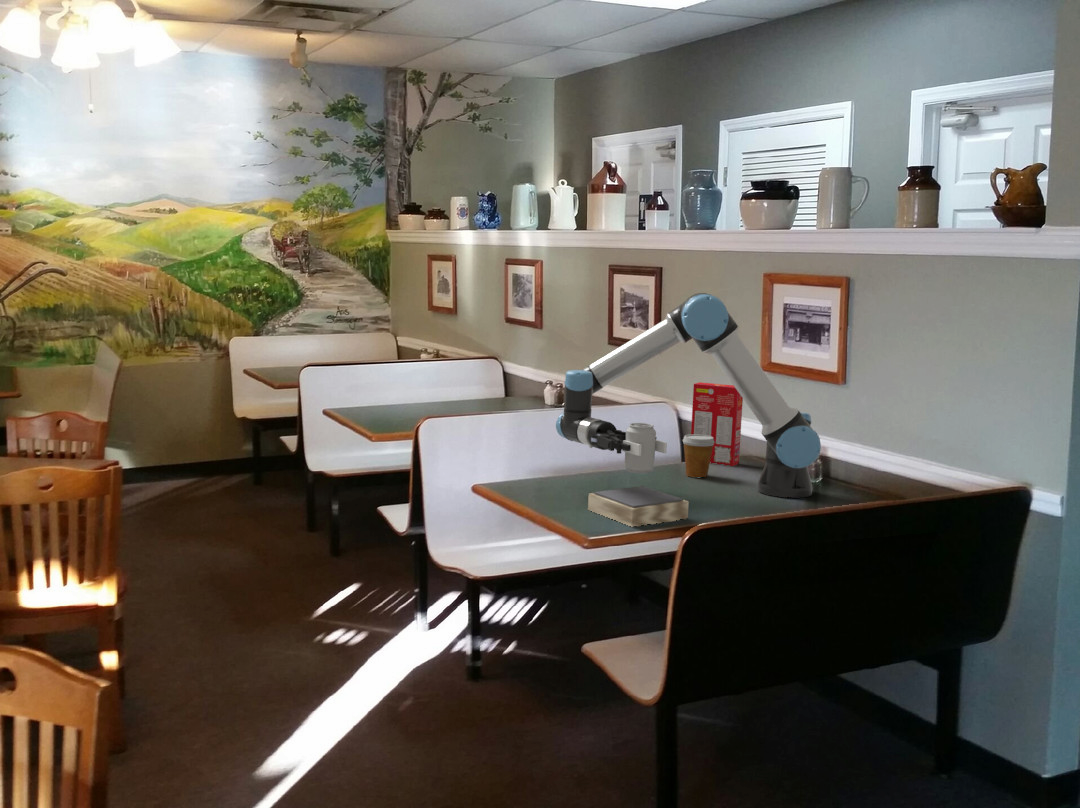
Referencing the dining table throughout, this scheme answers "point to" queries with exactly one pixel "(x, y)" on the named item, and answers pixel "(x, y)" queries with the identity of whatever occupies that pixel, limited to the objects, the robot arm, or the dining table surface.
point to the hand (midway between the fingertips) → (652, 449)
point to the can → (646, 438)
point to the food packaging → (718, 419)
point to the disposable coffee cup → (697, 454)
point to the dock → (638, 506)
